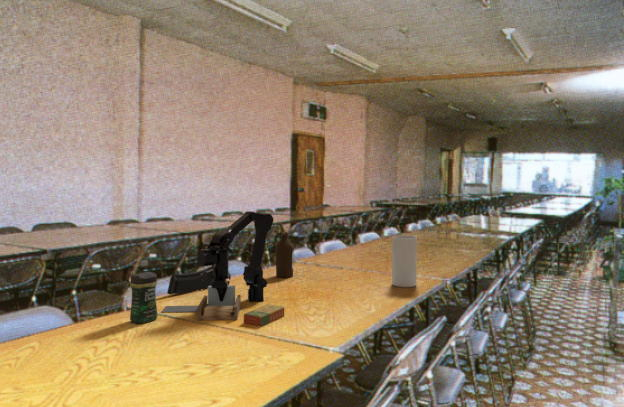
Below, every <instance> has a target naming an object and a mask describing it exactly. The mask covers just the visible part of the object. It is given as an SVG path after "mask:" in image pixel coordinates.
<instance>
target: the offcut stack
mask: <svg viewBox="0 0 624 407" xmlns="http://www.w3.org/2000/svg"><path fill="white" fill-rule="evenodd" d="M213 315H234V306H206V307H205V309H204V314H203V316H213Z"/></svg>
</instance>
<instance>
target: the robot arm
mask: <svg viewBox="0 0 624 407" xmlns="http://www.w3.org/2000/svg"><path fill="white" fill-rule="evenodd" d="M252 222H253V227H254V229H255V236H254V240H253V245H252V246H253V247H252V251H251V252H252V253H251V255H250V256H251V258H250V262H249V263H248V265H247V266H246V265H245V266H244V267H243V273H242V276H243V277H242V278H243V280H244V281H245V285H246V286H247V287H248V288H247V299H248V302H264V301H265V300H264V299H265V297H264V289H265V288H266V287H267V286H268V281H267V280H266V279H265V278H264V270H263V267H262V262H263V258H264V251H265V245H266V240H267V235H268V233H269V232H270V230H271V229H272V227H273V223H274V216H273V215H272V214H271V213H267V212H266V213H265V212H264V213H263V212H255V211H251V210H250V211H249V210H247V211H245V212H244V213H243V214H242V215H241V216H240V217H238V218H237V219H236V220H234V222H233V223H232V224H230V225H229V226H228V227H227V228H225V229H221V230H219V231H217V232H216V233H214V234H213V235H212V236H211V239H210V242H209V244H208V245H207V247H206V249H200V250H199V253H198V254H197V257H196V261H197V264H198V266H199V267H200V268H201V267H210V266H212V265H215V266H214V267H213V269H211V270H209V271H205V272H203V273H201V279H202V280H203V282H205V281H206V280H209V279H212V278H213V279H215V280H214V281H213V282H212V283H211V288H215V289H217V291H218V295H219V299H220V301H223V299H224V296H225V293H226V291H227V288H228V286H230V282H231V281H230V280H232V274H231V273H230V272H229V268H230V265H229V253H232V252H233V251H234V250H233V249H232V248H231V247H230V246H231V245H232V243H233V242H234V240H235V237H236V236H237V235H238V234H239V233H241V232H242V231H243V230H244V229H245V228H246V227H247V226H249V225H250V224H251V223H252Z"/></svg>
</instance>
